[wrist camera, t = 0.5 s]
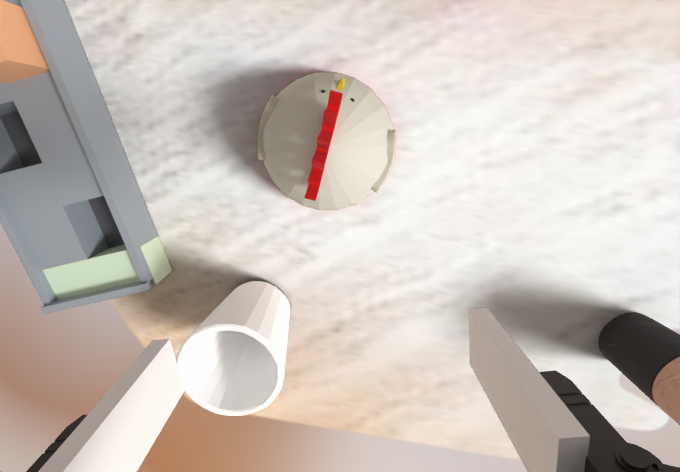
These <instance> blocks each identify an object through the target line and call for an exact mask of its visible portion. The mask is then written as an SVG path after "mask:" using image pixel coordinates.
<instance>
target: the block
mask: <svg viewBox="0 0 680 472" xmlns="http://www.w3.org/2000/svg"><path fill="white" fill-rule="evenodd" d="M47 72H50V70H49V67H48V65H47V63H46V60H45V58H44V56H43V53H42V51H41V49H40V46H39V44H38V42H37V39H36V37H35V35H34V33H33V30H32V28H31V26H30V23H29V21H28V19H27V16H26V14H25V12H24V9H23V8H22V7H20V6H17V5H14V4H12V3H9V2H6V1H4V0H0V83H6V84H8V83H11V82H15V81H18V80H22V79H25V78H29V77H33V76H36V75H40V74H43V73H47Z"/></svg>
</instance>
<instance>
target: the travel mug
mask: <svg viewBox="0 0 680 472" xmlns="http://www.w3.org/2000/svg"><path fill="white" fill-rule="evenodd" d="M599 347H600V350H601V352H602V354H603V355H604V356H605V357H606V358H607V359H608V360H609V361H610V362H611V363H612V364H613V365H614V366H615V367H616V368H618V369H619V370H620V371H621V372H622V373H623V374H624V375H625V376H626V377H627V378H628V379H629V380H631V381H632V382H633V383H634V384H635V385H636V386H637V387H638V388H639V389H640V390H641V391H642V392H644V393H645V394H646V395H647V396H648V397H649V398H650V399H651V400H652V401H653V402H654V403H655V404H656V405H658V406H659V407H660V408H661V409H662V410H663V411H664V412H665V413H667V414H668V415H669V416H670V417H671V418H672V419H674V420H675V421H676V422H677V423H678V424H679V425H680V335H679V334H678V333H676V332H674V331H672V330H671V329H669V328H667V327H665V326H664V325H662V324H660V323H658V322H656V321H655V320H653V319H651V318H649V317H647V316H645V315H642V314H638V313H628V314H624V315H621V316H618V317H616V318H614V319H613V320H611V321H610V322H609V323H608V324H607V325H606V326H605V327H604V329H603V330H602V332H601V334H600V337H599Z"/></svg>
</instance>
